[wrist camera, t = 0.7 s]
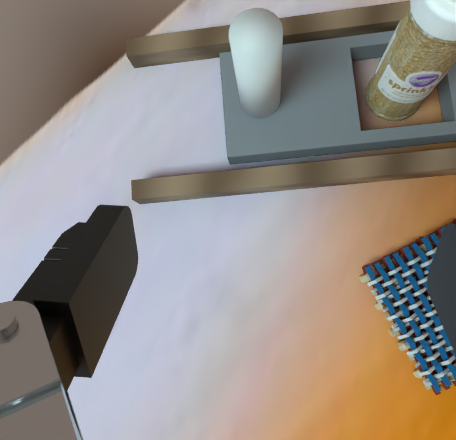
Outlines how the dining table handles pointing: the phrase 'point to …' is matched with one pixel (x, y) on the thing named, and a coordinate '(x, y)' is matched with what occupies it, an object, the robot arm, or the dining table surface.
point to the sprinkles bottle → (414, 59)
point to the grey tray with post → (307, 95)
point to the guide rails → (292, 173)
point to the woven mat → (414, 310)
